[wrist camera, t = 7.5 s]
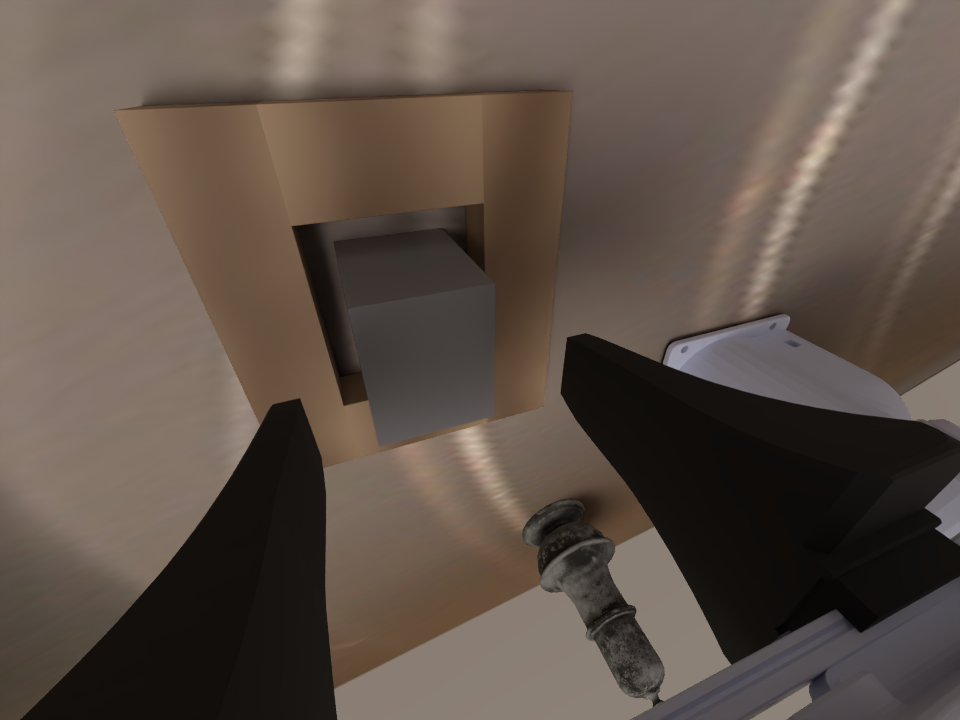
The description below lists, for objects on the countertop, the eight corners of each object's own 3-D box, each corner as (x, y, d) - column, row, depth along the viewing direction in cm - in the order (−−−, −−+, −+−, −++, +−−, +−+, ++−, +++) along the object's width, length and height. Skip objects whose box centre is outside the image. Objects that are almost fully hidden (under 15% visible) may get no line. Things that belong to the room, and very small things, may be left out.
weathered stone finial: (550, 552, 33) (647, 735, 24) (503, 541, 30) (596, 751, 20) (600, 505, 32) (724, 679, 23) (557, 488, 28) (683, 686, 19)
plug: (441, 227, 15) (495, 283, 11) (449, 338, 18) (494, 416, 14) (333, 241, 14) (347, 308, 10) (359, 356, 17) (378, 447, 13)
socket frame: (542, 89, 14) (572, 91, 12) (526, 383, 22) (544, 406, 20) (139, 106, 11) (113, 110, 9) (286, 444, 18) (285, 478, 17)
